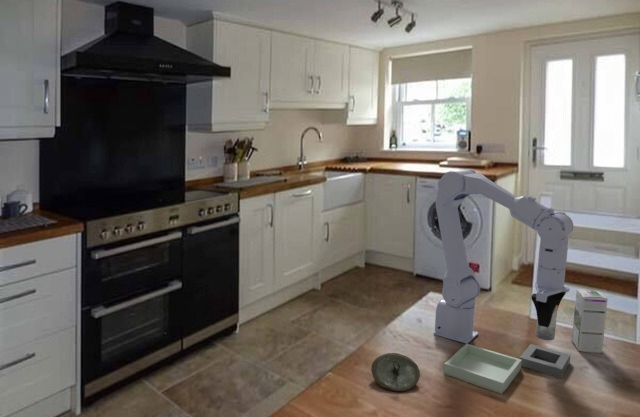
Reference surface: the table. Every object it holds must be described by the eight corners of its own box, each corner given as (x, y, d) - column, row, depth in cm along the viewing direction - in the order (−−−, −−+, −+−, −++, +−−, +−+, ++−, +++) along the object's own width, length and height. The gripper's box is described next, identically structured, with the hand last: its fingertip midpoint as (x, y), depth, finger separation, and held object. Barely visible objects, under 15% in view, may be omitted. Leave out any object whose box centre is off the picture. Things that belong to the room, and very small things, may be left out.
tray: (443, 373, 108) (444, 363, 108) (466, 353, 118) (466, 343, 118) (502, 394, 100) (503, 383, 100) (520, 369, 110) (521, 359, 110)
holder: (518, 365, 112) (519, 357, 112) (529, 351, 119) (530, 343, 119) (560, 377, 107) (561, 369, 107) (569, 362, 114) (570, 354, 114)
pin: (533, 337, 112) (536, 304, 110) (538, 331, 115) (541, 299, 113) (552, 342, 109) (555, 308, 108) (556, 336, 112) (559, 303, 111)
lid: (415, 369, 110) (416, 349, 110) (423, 393, 101) (424, 371, 100) (369, 368, 110) (369, 348, 110) (373, 392, 101) (374, 370, 100)
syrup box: (603, 353, 119) (609, 297, 116) (577, 351, 120) (583, 295, 117) (594, 343, 124) (601, 290, 122) (570, 341, 125) (575, 288, 123)
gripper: (563, 277, 101) (557, 338, 103) (577, 262, 112) (571, 317, 114) (528, 271, 105) (523, 329, 108) (545, 257, 116) (540, 310, 119)
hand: (546, 322), depth 111 cm, fingers closed on pin, 4 cm apart
